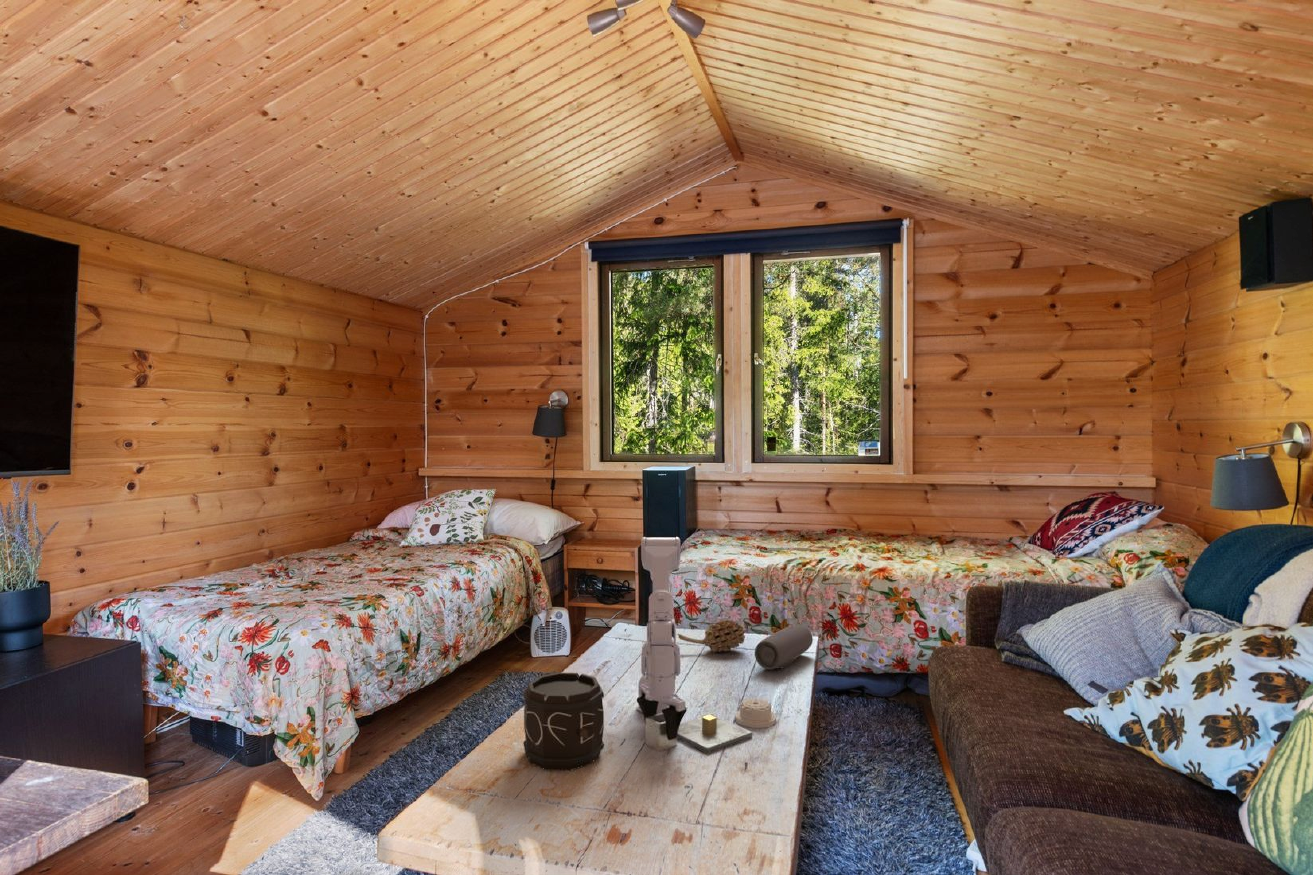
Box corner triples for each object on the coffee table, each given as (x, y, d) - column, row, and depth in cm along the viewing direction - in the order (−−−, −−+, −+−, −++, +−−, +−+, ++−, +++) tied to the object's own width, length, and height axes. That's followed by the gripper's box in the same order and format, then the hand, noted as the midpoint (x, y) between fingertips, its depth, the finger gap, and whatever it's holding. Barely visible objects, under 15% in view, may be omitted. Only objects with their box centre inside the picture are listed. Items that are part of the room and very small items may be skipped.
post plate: (667, 733, 179) (667, 715, 179) (711, 718, 188) (711, 701, 188) (707, 753, 168) (707, 734, 168) (752, 737, 177) (752, 719, 177)
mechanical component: (733, 727, 183) (775, 730, 181) (733, 709, 183) (775, 712, 181) (737, 711, 193) (777, 714, 191) (737, 694, 193) (777, 697, 191)
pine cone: (741, 646, 249) (741, 615, 248) (749, 655, 239) (749, 623, 239) (674, 648, 245) (674, 618, 245) (679, 658, 236) (679, 626, 236)
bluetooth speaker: (786, 651, 243) (787, 620, 243) (814, 656, 238) (814, 624, 237) (752, 670, 225) (752, 636, 224) (781, 676, 219) (781, 641, 219)
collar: (645, 743, 173) (645, 717, 173) (662, 738, 176) (662, 712, 176) (659, 751, 169) (659, 724, 169) (676, 745, 173) (676, 718, 172)
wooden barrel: (543, 782, 155) (542, 705, 155) (510, 749, 170) (510, 679, 170) (620, 760, 165) (620, 688, 164) (583, 732, 180) (582, 665, 180)
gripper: (627, 668, 176) (627, 727, 176) (667, 685, 164) (667, 748, 165) (651, 662, 180) (651, 720, 180) (692, 678, 169) (692, 739, 169)
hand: (661, 733), depth 173 cm, fingers open, 7 cm apart
